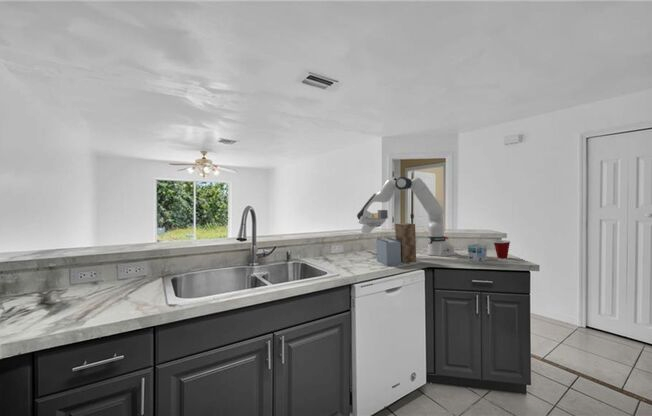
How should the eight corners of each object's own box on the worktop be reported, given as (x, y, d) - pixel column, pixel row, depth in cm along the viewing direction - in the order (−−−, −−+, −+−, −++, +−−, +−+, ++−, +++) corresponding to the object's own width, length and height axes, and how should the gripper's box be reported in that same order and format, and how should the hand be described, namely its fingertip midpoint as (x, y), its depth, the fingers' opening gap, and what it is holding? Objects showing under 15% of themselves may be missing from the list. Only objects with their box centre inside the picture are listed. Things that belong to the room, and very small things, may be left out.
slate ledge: (389, 259, 205) (389, 237, 205) (401, 264, 188) (400, 240, 187) (376, 260, 203) (376, 238, 203) (386, 265, 186) (386, 241, 186)
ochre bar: (377, 217, 220) (377, 209, 220) (387, 218, 201) (387, 210, 201) (371, 217, 219) (371, 209, 219) (381, 218, 200) (380, 210, 200)
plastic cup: (491, 256, 207) (491, 239, 206) (508, 256, 203) (508, 239, 203) (494, 259, 196) (494, 241, 196) (513, 259, 193) (512, 241, 193)
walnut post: (409, 259, 204) (408, 223, 204) (416, 262, 194) (415, 224, 194) (396, 260, 202) (395, 223, 202) (402, 263, 192) (401, 224, 192)
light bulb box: (477, 262, 188) (476, 245, 188) (467, 260, 194) (467, 244, 194) (487, 260, 193) (486, 244, 193) (477, 258, 199) (477, 243, 199)
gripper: (357, 220, 228) (361, 211, 217) (381, 219, 232) (387, 210, 220) (358, 227, 225) (363, 218, 214) (383, 226, 229) (388, 218, 217)
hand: (375, 214), depth 217 cm, fingers closed on ochre bar, 3 cm apart
